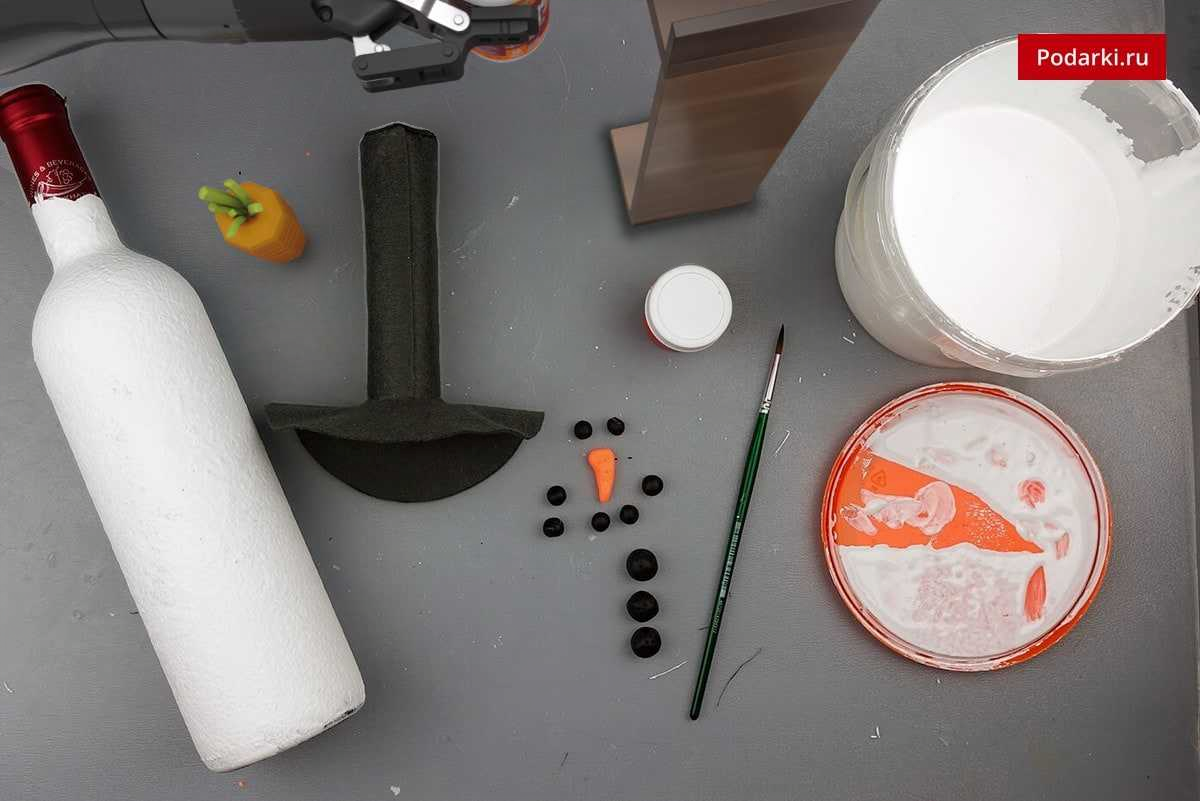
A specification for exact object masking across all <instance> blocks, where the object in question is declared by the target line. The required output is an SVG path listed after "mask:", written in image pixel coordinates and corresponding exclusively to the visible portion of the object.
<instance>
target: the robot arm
mask: <svg viewBox="0 0 1200 801" xmlns="http://www.w3.org/2000/svg"><path fill="white" fill-rule="evenodd" d="M397 26H400V27H402V28H404V29H406V30H409V31H411V32H413V33H415V34H417V35H419V36H420V37H421V36H422V37H424V38H426V39H428V40H433V39H435V40H438V41H440V42H435V43H429V44H423V45H416V46H410V47H403V48H395V49H391V48H390V46H389V45H387V44H385V43H376V41H377V40H379V39H381V38H382V37H383V36H384V35H386V34H387V33H388V32H389V31H391V30H392V29H394V28H395V27H397ZM538 33H539V17H538V9H537V8H536V7H535V6H498V7H471V14H467V13H466V12H464V11H462V10H460V9H458V8H456V7H453V6H451V5H449V3H446V2H444V1H443V0H0V77H3V76H6V75H7V76H8V75H10V74H13V73H17V72H19V71H23V70H26V69H28V68H32V67H34V66H36V65H37V66H38V65H40V64H42V63H45V62H48V61H52V60H54V59H57V58H60V57H63V56H66V55H70V54H73V53H77V52H79V51H80V52H81V51H83V50H87V49H89V48H92V47H96V46H100V45H103V44H108V43H109V44H110V43H141V42H146V43H147V42H171V41H179V42H180V41H181V42H193V43H200V44H210V45H212V44H216V45H221V44H222V45H224V44H230V45H234V46H235V45H236V46H242V45H246V44H250V43H251V44H253V43H254V44H255V43H277V42H278V43H283V42H285V43H287V42H314V41H316V42H318V41H319V42H320V41H328V40H332V39H343V40H346V41H348V42H349V43H352V44H353V49H354V54H355V56H354V58H353V60H352V63H351V68H352V70H353V73H354V74H355V76H356V77H357V79H358V81H359V83H360V84H361V87H362V88H363V90H364V91H366V92H367V93H370V94H376V93H377V94H378V93H383V92H390V91H397V90H403V89H410V88H416V87H423V86H430V85H436V84H444V83H449V82H456V81H460V80H461V79H462V78H463V77H464V74H465V65H466V63H467V62H466V61H467V59H468V56H469V54H470V53H471V52H472V51H471V50H472V49H473V48H474V47H477V46H494V45H521V44H523V43H526V42H528V41H529V36H533V35H537V34H538Z"/></svg>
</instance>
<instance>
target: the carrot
mask: <svg viewBox="0 0 1200 801" xmlns="http://www.w3.org/2000/svg"><path fill="white" fill-rule="evenodd" d="M222 185H223V186H224V187H225V188H227V190H222V189H219V188H216V187H211V186H207V185H206V186H205V185H204V186H202V187H201V188H200V189H199V192H198V195H197V196H198V198H199V199H201V200H202V201H205V202H210V203H208V207H207V208H208V210H209V211H210V212H212V213H214V219H215V221H216V223H217V225H218V227H219V230H220V232H221V234H222V236H223V238H224V240H225V243H227V244H228V245H230V246H232V247H234V248H236V249H237V250H239V251H242V252H244V253H245V254H248V255H250V256H253V257H256V258H260V259H263V260H265V261H268V262H270V263H275V264H287V263H289V262H291V261H293V260H295V259H297V258H299V257H302V256H303V252H304V250H305V247H306V244H307V241H308V240H307V239H308V238H307V237H306V234H305V232H304V230H303V227H302V226H301V223H300V221H299V219H298V217H297V215H296V213H295V211H294V209H293V207H292V206H291V205H290V204H289V203H288V201H287V200H286V199H285V198H284V197H283V196H282V195H281V194H280V193H279V192H278V191H276V190H274V189H272V188H270V187H266V186H263V185H261V184H258V183H254V182H252V181H249V180H248V181H245V182H243V183H240V184H239V183H238V182H237V181H235V180H234V179H230V178H228V179H226V180H224V182H223V184H222Z"/></svg>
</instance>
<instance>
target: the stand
mask: <svg viewBox="0 0 1200 801" xmlns="http://www.w3.org/2000/svg"><path fill="white" fill-rule="evenodd" d="M855 41H856V40H853V41H848V42H843V43H838V44H834V45H829V46H824V47H819V48H815V49H810V50H805V51H800V52H796V53H791V54H786V55H781V56H776V57H772V58H767V59H762V60H757V61H753V62H748V63H743V64H738V65H733V66H729V67H724V68H719V69H714V70H710V71H705V72H700V73H695V74H691V75H686V76H681V77H676V78H671V79H667V80H666V79H665V76H664V72H663V68H662V63H660V65H659V66H660V67H659V70H658V71H659V72H658V76H657V80H656V86H655V91H654V95H653V99H652V105H651V108H650V115H649V117H648V118H649V119H648V121H645V122H640V123H635V124H630V125H626V126H622V127H617V128H616V127H615V128H611V129H610V130H609V132H610V133H609V137H610V141H611V142H610V143H611V145H612V151H613V155H614V159H615V164H616V168H617V172H618V176H619V181H620V185H621V189H622V193H623V198H624V202H625V207H626V211H627V216H628V220H629V224H630V227H631V228H636V227H640V226H645V225H649V224H654V223H655V224H656V223H659V222H663V221H668V220H673V219H678V218H682V217H687V216H692V215H696V214H702V213H705V212H711V211H716V210H719V209H723V208H728V207H733V206H737V205H742V204H747V203H750V201H751V200H752V198H753V196H754V195H755V194H756V192H757V190H758V189H759V188H760V186H761V184H762V183H763V182H764V180H765V179H766V177H767V175H768V174H769V172H770V171H771V169H772V168H773V166H774V165H775V163H776V162H777V161H778V159H779V158H780V156H781V154H782V152H783V151H784V149H785V148H786V147H787V145H788V144H789V142H790V140H791V139H792V137H793V136H794V134H795V133H796V131H797V130H798V128H799V126H800V125H801V124H802V122H803V121H804V120H805V118H806V116H807V115H808V113H809V112H810V110H811V108H812V107H813V105H814V104H815V103H816V101H817V100H818V97H819V96H820V95H821V93H822V92H823V90H824V89H825V88H826V86H827V84H828V83H829V81H830V80H831V78H832V77H833V75H834V74H835V72H836V71H837V69H838V67H839V66H840V65H841V63H842V61H843V60H844V58H845V57H846V55H847V54H848V53H849V51H850V50H851V48H852V47H853V45H854V43H855Z"/></svg>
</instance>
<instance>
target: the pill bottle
mask: <svg viewBox="0 0 1200 801" xmlns="http://www.w3.org/2000/svg"><path fill="white" fill-rule="evenodd" d="M447 1H448V4H449V5H451V6H453V7H456V8H458V9H460V10H462V11H464V12H466V13H467V14H471V7H498V6H535V7H536V8H537V9H538V17H539V33H538V34H537V35H533V36H529V41H528V42H526V43H523V44H521V45H494V46H477V47H474V48H473V49H472V50H471V51H470V52H472V53H473V54H474V55H476V56H477V57H479V58H482V59H484V60H486V61H489V62H493V63H494V62H495V63H499V64H502V63H503V64H504V63H511V62H516V61H519V60H522V59H524V58H525V57H527V56H529V55H531V54H532V53H533V52H535V51H536V50H537V49H538V48H539V46H540V45H541V44H542V43H543V41H544V40H545V38H546V35H547V34H548V30H549V26H550V20H551V6H550V5H551V4H550V0H447Z"/></svg>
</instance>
